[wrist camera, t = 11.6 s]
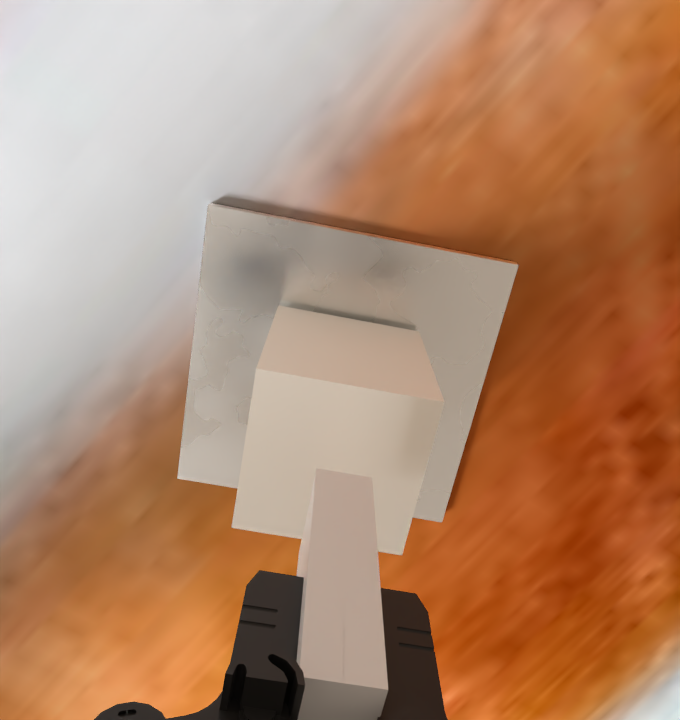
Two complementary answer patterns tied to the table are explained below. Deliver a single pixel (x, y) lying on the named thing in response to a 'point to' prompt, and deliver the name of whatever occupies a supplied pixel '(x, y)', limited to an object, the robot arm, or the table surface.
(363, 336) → the cream cube
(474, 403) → the square grey base plate
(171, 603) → the table surface
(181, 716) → the robot arm
